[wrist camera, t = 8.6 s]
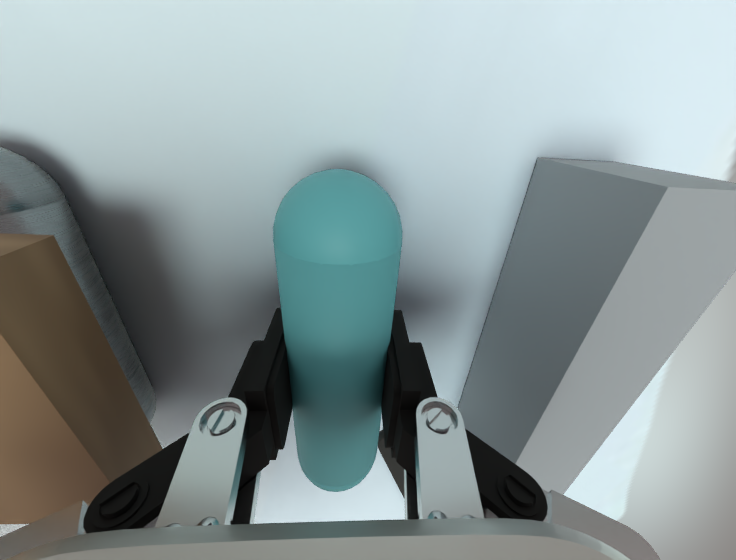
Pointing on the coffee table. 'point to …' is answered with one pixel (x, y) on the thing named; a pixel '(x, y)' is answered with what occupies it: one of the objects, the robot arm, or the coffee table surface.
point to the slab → (58, 389)
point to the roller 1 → (67, 255)
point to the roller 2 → (337, 317)
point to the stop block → (592, 306)
